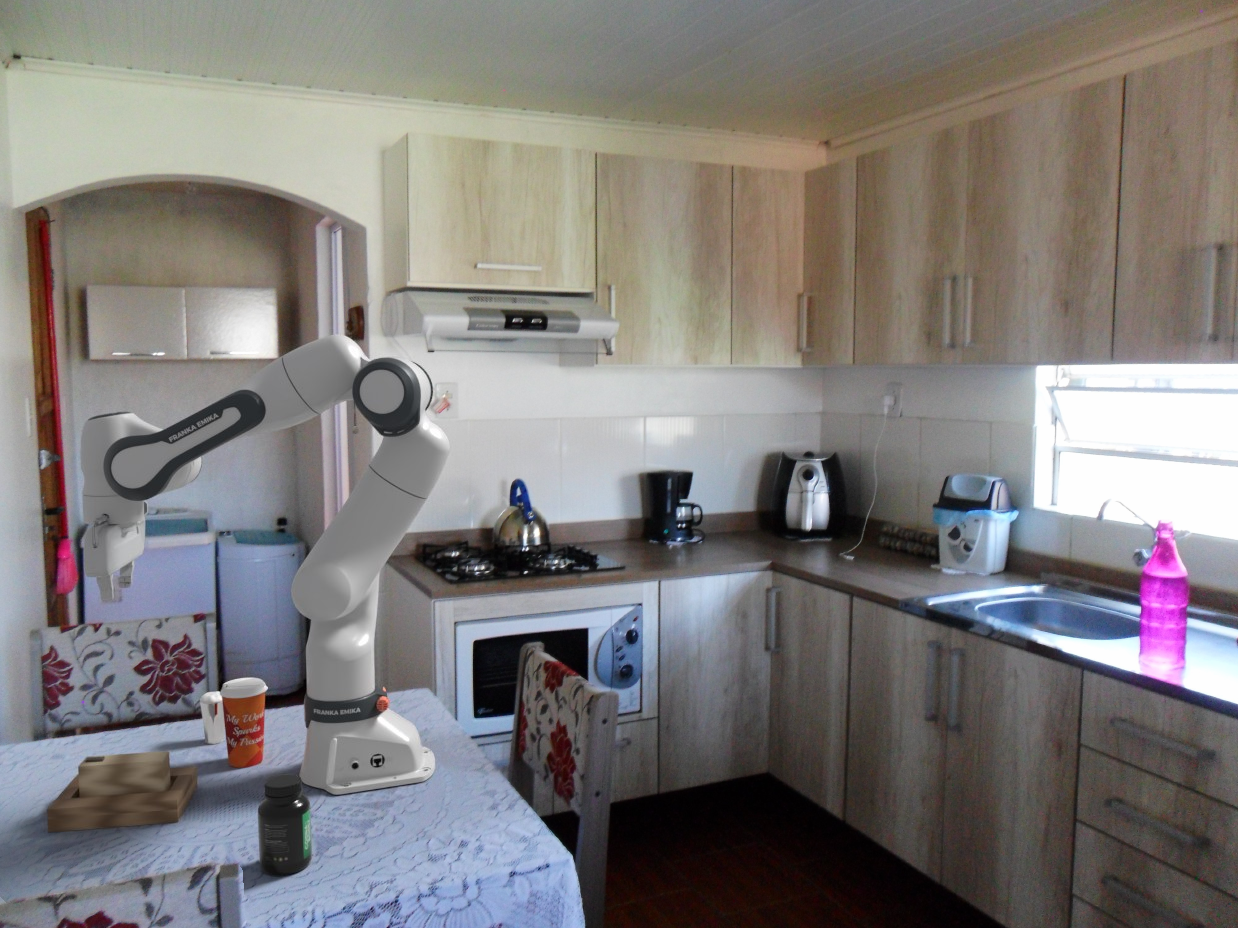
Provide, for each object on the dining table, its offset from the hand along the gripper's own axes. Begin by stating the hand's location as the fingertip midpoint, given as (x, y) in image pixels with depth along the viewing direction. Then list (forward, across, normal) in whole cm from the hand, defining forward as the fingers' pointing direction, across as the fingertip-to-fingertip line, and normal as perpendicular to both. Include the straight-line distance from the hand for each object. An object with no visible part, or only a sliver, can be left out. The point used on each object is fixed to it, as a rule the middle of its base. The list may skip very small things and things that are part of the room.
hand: (117, 593), depth 163 cm
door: (+29, -14, -4) cm, 33 cm away
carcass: (+31, -14, -4) cm, 34 cm away
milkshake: (+31, +13, -12) cm, 36 cm away
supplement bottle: (+31, -37, -31) cm, 57 cm away
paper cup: (+31, +2, -19) cm, 37 cm away
